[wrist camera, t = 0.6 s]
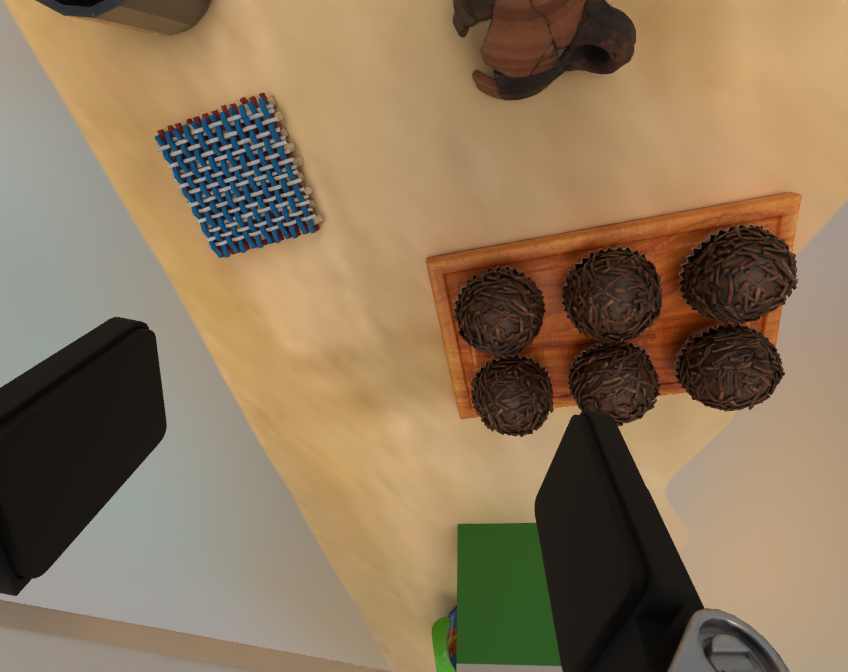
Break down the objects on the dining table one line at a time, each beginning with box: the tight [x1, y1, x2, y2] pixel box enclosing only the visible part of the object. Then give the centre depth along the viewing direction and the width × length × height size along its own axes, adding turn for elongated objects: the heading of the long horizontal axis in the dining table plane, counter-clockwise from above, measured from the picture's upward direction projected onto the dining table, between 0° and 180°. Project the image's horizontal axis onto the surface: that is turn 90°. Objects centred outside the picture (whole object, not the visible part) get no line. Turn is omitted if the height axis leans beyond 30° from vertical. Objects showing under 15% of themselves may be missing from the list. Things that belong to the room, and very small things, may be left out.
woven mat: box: [155, 93, 323, 258], centre depth 35 cm, size 10×11×2 cm
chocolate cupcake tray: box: [426, 192, 801, 437], centre depth 36 cm, size 28×17×8 cm, turn 102°
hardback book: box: [456, 524, 563, 672], centre depth 44 cm, size 18×7×24 cm, turn 96°
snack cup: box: [432, 609, 457, 672], centre depth 58 cm, size 16×11×10 cm
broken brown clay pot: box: [453, 0, 636, 100], centre depth 27 cm, size 12×10×8 cm
